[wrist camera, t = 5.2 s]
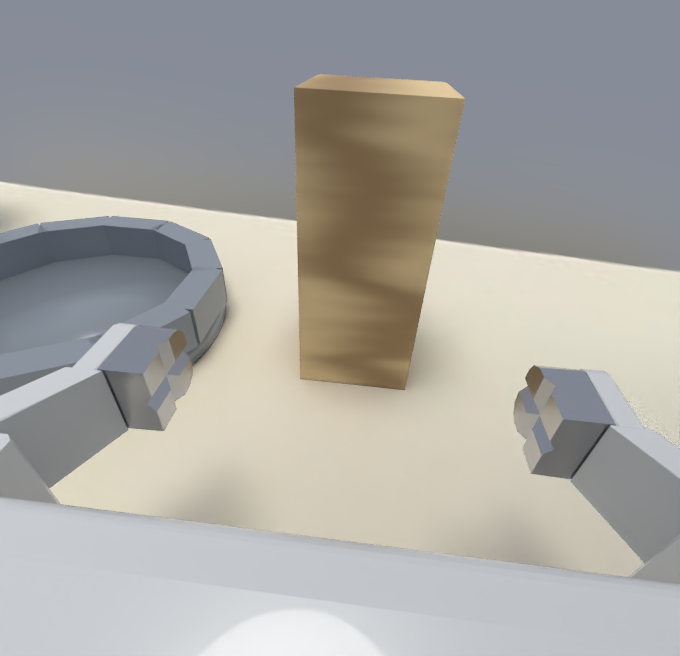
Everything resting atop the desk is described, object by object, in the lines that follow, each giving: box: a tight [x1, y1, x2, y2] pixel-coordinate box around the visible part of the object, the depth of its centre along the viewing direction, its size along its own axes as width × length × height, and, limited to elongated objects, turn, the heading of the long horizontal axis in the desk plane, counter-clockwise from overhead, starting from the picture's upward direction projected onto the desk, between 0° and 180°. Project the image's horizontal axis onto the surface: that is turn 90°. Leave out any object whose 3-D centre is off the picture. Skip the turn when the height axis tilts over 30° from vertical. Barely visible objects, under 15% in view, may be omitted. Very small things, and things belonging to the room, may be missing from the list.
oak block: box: [294, 74, 465, 390], centre depth 17 cm, size 5×5×12 cm
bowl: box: [0, 216, 227, 396], centre depth 21 cm, size 15×15×3 cm
